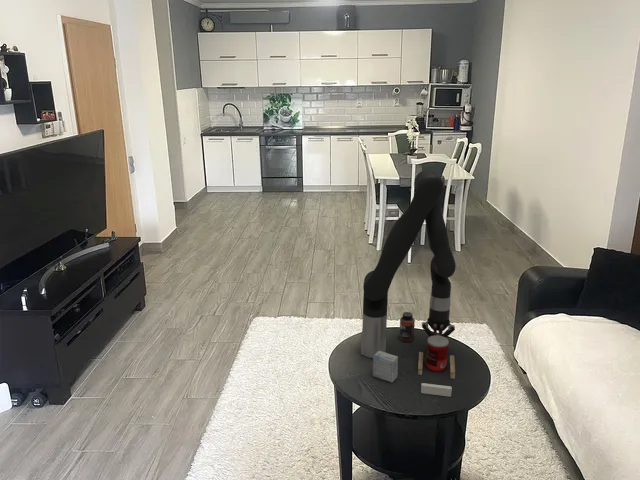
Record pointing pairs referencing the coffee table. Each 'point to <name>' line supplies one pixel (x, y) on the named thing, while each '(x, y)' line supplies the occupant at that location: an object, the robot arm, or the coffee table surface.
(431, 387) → the bar
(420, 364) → the wooden bars
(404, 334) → the supplement bottle
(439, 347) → the canned food
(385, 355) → the medicine box
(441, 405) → the coffee table surface
